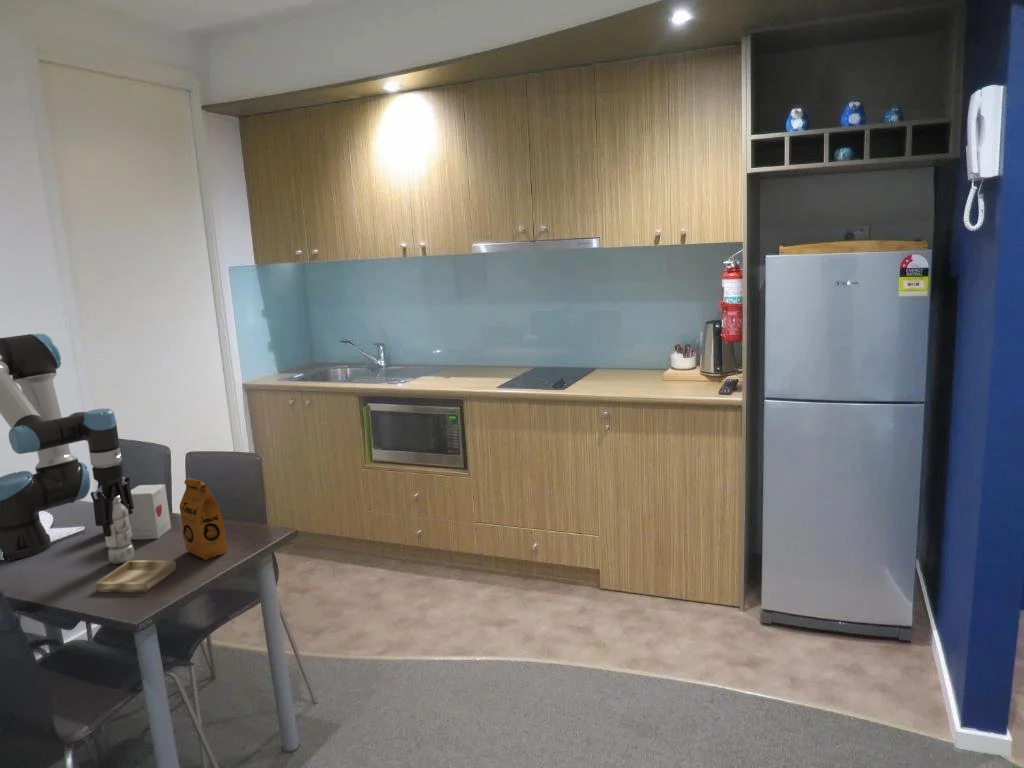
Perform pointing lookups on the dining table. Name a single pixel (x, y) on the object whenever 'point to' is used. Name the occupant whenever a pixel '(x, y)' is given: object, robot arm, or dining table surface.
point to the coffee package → (201, 521)
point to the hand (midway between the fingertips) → (119, 540)
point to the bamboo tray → (136, 576)
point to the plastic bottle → (120, 533)
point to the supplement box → (149, 512)
